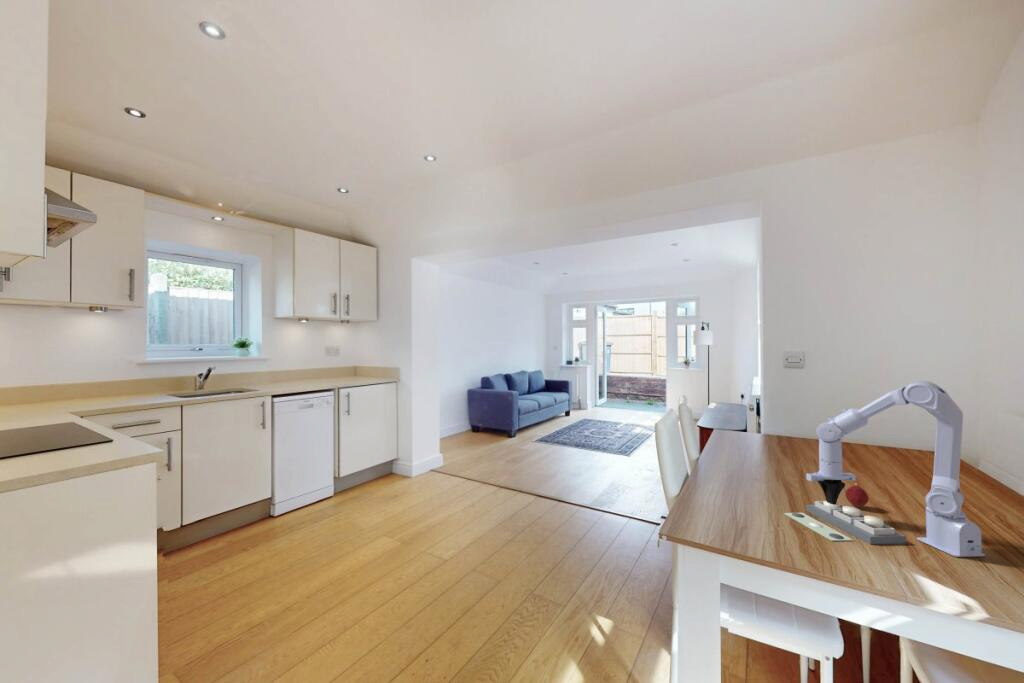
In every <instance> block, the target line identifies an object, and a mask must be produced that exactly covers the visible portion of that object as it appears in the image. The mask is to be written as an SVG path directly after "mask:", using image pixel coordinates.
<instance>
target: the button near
mask: <svg viewBox="0 0 1024 683" xmlns="http://www.w3.org/2000/svg"><path fill="white" fill-rule="evenodd" d="M884 522H885V521H884V519H882V518H880V517H877V516H874V515H873V516H872V515H865V516H864V523H865V524H866V525H868V526H870V527H874V528H884V524H885V523H884Z"/></svg>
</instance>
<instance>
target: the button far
mask: <svg viewBox="0 0 1024 683" xmlns="http://www.w3.org/2000/svg"><path fill="white" fill-rule="evenodd" d="M822 501H823V503H824V505H825V506H827V507H829V508H840V505H841V503H839V502H837V503H836V504H830V503H828V502H827V501H826V500H822Z"/></svg>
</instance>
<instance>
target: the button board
mask: <svg viewBox="0 0 1024 683" xmlns="http://www.w3.org/2000/svg"><path fill="white" fill-rule="evenodd" d="M823 501H824V500H814V504H806V512H807V513H810V514H812V515H814V516H816V517H817V518H819V519H822V520H823V521H825V522H826V523H828V524H831V525H833V526H834V527H837V528H839V529H841V530H842V531H844V532H846V533H848V534H850V535H852V536H853V537H856V538H857V539H859V540H861V541H863V542H866V543H867V544H870V545H893V544H894V545H896V544H897V545H898V544H902V545H903V544H907V535H904V534H903V533H900V532H897V531H896V529H895V528H894V527H891V526H890V525H887V524H885V523H884V528H874V527H870V526H868V525H866V524H865V523H864V516H866V514H865V515H864V514H863V513H860V517H850V516H847V515H845V514H843V506H844V505H842V504H840V508H829V507H827V506H825V505H824V503H823Z"/></svg>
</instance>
